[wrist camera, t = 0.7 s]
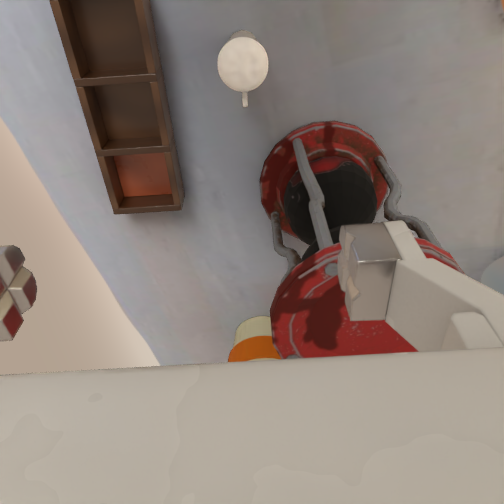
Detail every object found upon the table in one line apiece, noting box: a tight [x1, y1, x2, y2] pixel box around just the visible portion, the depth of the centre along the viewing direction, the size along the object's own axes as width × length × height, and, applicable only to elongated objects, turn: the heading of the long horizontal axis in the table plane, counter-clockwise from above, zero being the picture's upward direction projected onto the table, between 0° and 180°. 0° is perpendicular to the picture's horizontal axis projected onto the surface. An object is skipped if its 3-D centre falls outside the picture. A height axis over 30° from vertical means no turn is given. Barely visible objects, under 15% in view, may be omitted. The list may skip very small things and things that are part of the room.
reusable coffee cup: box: [228, 316, 281, 362], centre depth 64 cm, size 13×13×15 cm
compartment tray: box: [50, 0, 185, 214], centre depth 46 cm, size 24×8×4 cm, turn 3°
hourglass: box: [260, 121, 465, 359], centre depth 43 cm, size 16×16×25 cm
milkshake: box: [218, 30, 268, 107], centre depth 40 cm, size 4×5×10 cm
